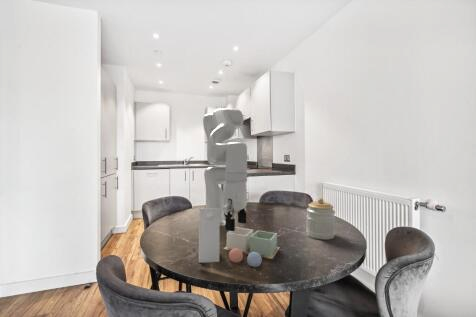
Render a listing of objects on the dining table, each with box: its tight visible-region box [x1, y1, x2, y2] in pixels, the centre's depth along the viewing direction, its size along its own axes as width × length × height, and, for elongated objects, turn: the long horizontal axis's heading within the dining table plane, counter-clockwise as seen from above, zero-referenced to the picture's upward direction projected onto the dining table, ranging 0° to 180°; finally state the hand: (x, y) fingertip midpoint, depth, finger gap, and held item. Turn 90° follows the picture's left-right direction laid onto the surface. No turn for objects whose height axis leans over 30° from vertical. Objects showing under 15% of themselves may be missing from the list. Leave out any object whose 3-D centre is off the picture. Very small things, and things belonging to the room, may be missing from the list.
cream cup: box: [226, 226, 254, 252], centre depth 92 cm, size 8×8×6 cm
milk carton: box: [198, 207, 221, 266], centre depth 81 cm, size 7×7×19 cm
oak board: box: [222, 245, 281, 260], centre depth 90 cm, size 20×11×1 cm, turn 65°
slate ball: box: [246, 252, 263, 268], centre depth 77 cm, size 5×5×5 cm
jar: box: [305, 198, 336, 241], centre depth 108 cm, size 13×13×18 cm
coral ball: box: [228, 248, 244, 263], centre depth 80 cm, size 5×5×5 cm
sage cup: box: [250, 230, 278, 257], centre depth 88 cm, size 8×8×6 cm
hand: (236, 226), depth 79 cm, fingers open, 9 cm apart
